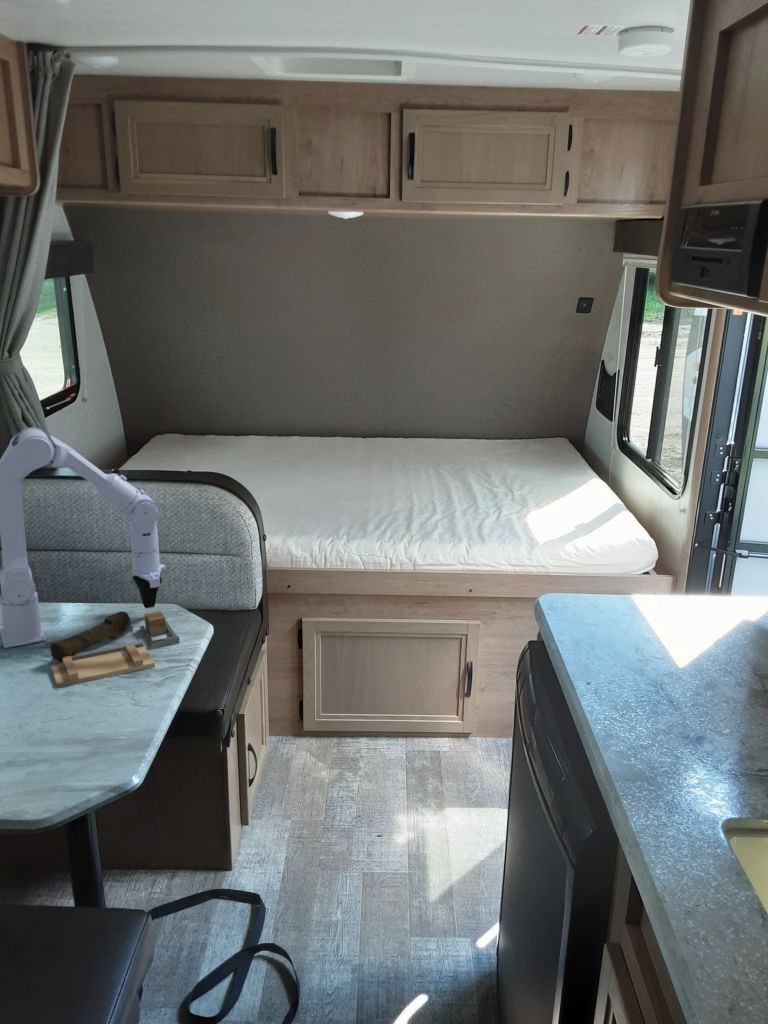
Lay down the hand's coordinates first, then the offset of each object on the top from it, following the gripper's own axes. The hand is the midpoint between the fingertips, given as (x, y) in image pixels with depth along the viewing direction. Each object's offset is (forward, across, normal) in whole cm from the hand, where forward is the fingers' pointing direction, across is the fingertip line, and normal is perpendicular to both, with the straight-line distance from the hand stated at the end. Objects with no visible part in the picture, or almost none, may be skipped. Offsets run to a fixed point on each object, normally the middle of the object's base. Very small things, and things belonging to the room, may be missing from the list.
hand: (149, 606), depth 179 cm
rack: (+2, -20, +14) cm, 25 cm away
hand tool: (+2, -10, +14) cm, 17 cm away
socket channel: (+2, -10, +14) cm, 17 cm away
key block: (+2, -8, +1) cm, 9 cm away
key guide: (+2, -10, +1) cm, 11 cm away
